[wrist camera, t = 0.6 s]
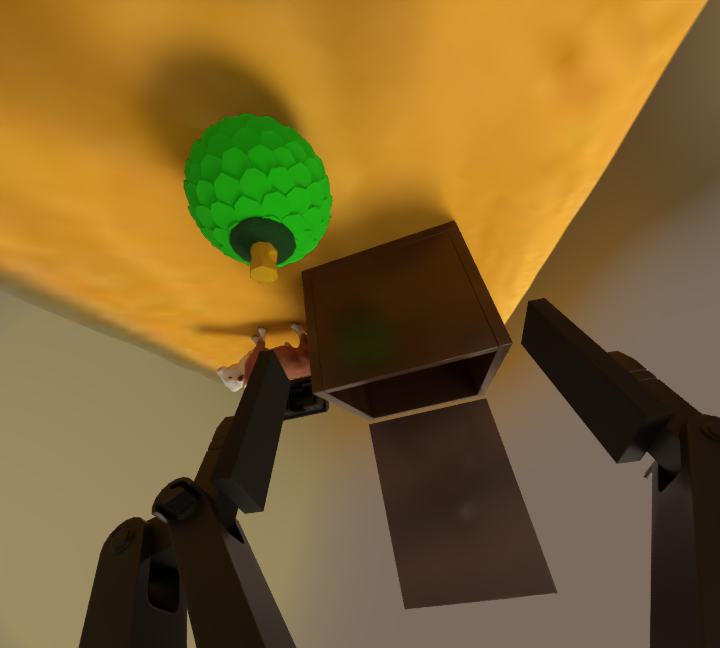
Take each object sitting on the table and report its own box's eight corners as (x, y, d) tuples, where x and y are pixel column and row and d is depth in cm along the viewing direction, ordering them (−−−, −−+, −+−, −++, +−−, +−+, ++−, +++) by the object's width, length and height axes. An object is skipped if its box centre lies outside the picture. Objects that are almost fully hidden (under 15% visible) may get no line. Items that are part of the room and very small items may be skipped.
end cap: (285, 392, 65) (286, 422, 61) (271, 384, 58) (272, 418, 55) (327, 383, 64) (330, 413, 61) (317, 374, 58) (321, 407, 54)
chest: (301, 271, 29) (311, 393, 23) (454, 220, 26) (513, 343, 20) (354, 339, 46) (368, 420, 39) (452, 311, 43) (484, 394, 37)
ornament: (161, 97, 15) (115, 227, 10) (308, 71, 15) (329, 188, 10) (233, 217, 22) (225, 326, 18) (333, 199, 22) (352, 303, 18)
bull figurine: (217, 326, 36) (211, 388, 32) (322, 319, 38) (329, 375, 35) (226, 341, 39) (222, 399, 36) (321, 334, 42) (327, 386, 38)
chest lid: (404, 609, 31) (405, 604, 32) (558, 593, 28) (554, 589, 29) (368, 424, 39) (370, 424, 40) (486, 398, 36) (485, 398, 37)
